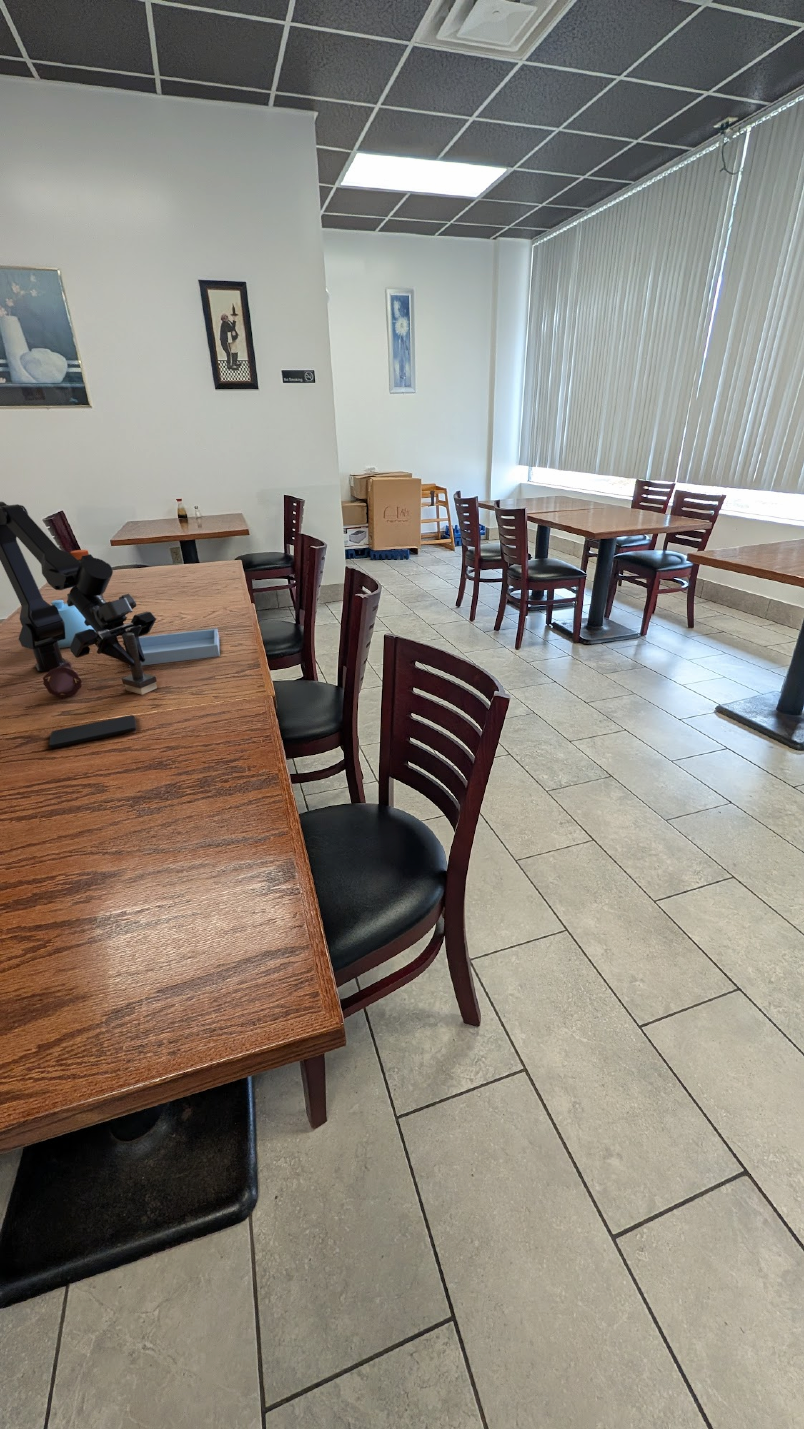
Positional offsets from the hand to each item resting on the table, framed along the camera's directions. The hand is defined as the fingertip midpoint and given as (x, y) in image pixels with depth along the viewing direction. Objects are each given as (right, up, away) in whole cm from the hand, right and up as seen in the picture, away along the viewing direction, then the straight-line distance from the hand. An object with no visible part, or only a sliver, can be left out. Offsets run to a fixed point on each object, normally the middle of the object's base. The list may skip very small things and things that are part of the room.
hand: (138, 663), depth 128 cm
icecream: (-17, -7, +2) cm, 18 cm away
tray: (-1, +5, +25) cm, 26 cm away
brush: (-1, -6, +4) cm, 7 cm away
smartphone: (-1, -15, -16) cm, 22 cm away
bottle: (-42, +22, +63) cm, 79 cm away
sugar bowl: (-37, +9, +37) cm, 53 cm away
